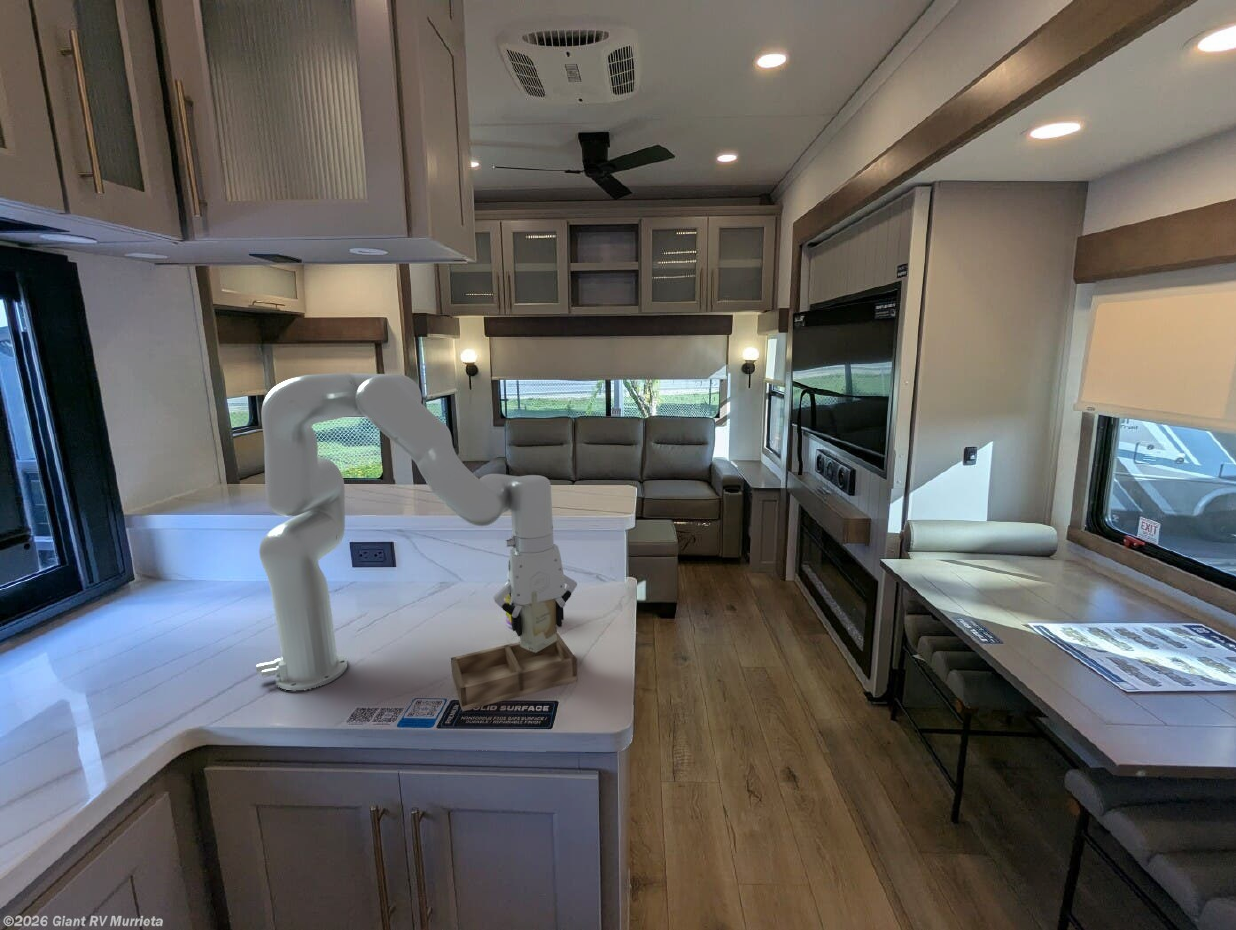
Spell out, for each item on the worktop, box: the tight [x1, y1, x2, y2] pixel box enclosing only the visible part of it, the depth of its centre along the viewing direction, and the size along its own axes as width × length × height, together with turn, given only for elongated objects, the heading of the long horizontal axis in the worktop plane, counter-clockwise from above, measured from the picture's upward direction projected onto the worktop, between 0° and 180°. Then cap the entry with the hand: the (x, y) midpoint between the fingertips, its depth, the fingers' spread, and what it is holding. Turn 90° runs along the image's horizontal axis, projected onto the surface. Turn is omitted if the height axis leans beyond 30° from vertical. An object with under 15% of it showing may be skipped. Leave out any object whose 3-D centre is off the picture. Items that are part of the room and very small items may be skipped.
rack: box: [450, 633, 578, 712], centre depth 109 cm, size 22×11×4 cm, turn 114°
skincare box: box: [519, 592, 558, 653], centre depth 109 cm, size 6×4×12 cm
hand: (538, 627), depth 110 cm, fingers closed on skincare box, 7 cm apart
